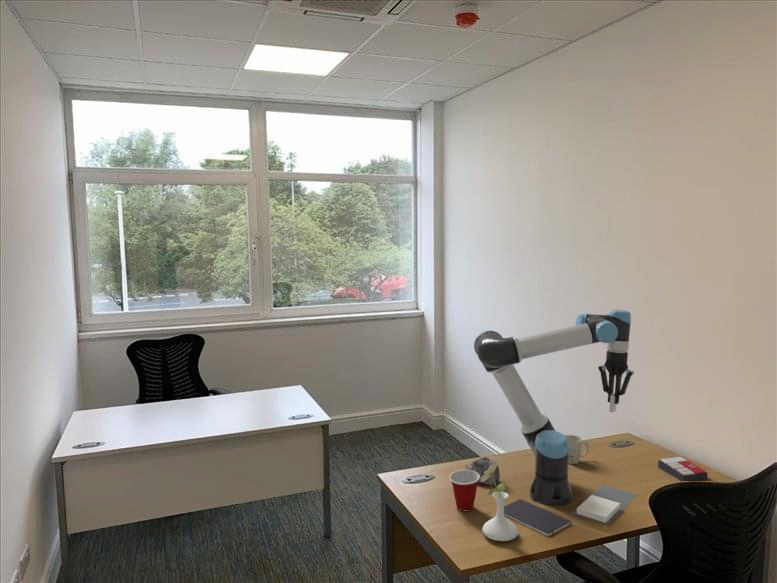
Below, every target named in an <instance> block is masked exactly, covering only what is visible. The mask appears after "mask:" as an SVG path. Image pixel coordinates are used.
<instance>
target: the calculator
mask: <svg viewBox="0 0 777 583" xmlns="http://www.w3.org/2000/svg"><path fill="white" fill-rule="evenodd" d="M657 460H658V462H657V463H658V465H657V468H658V469H660V470H661V471H663V472H665V473H668V474H669V475H671V476H672V477H674V478H675V479H677V480H679V481H680V482H682V481H692V482H699V481H705V480H708V472H706V470H705V469H702V468H701V467H700V466H697V464H694V463H693V462H691V461H690V460H687V459H685V458H684V457H682V456H676V457H675V456H674V457H668V458H667V457H666V458H660V459H657Z"/></svg>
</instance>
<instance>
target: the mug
mask: <svg viewBox="0 0 777 583" xmlns="http://www.w3.org/2000/svg"><path fill="white" fill-rule="evenodd" d="M564 435H565V436H566V437H567V439H568V442H569V458H568V465H569V464H570V465H577V464H579V463H580V458H583V457H585V456H586V455H587V454H588V453H589V451H590V444H589V442H588V441H586V440H583V438H581V437H580V436H578V435H574V434H567V435H566V434H564ZM583 445H585V446H586V450H585V451H584V453H583V454H581V451H582V446H583Z"/></svg>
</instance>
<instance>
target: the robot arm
mask: <svg viewBox="0 0 777 583" xmlns="http://www.w3.org/2000/svg"><path fill="white" fill-rule="evenodd" d="M631 316H632V314H631V312H630V311H628V310H625V309H610V311H609V314H592V313H583V314H582V313H580V314H578V315H577V316H576V320H575V325H572V326H568V327H563V328H559V329H554V330H550V331H545V332H541V333H537V334H532V335H528V336H523V337H519V338H516V337H515V336H511V337H503V335H502V334H500V333H499V332H497V331H495V330H491V329H490V330H485V331H482V332H480V333H479V334H478V335H477V336H476V338H475V339H474V342H473V350H474V353H475V354H476V355H477V359H479V362H481V364H482V366H483V368H484V369H485V371H486V372H487V373H489V374H492V375H493V376H494V378H495V381H497V382H496V383H497V384H498V386H499V388H500V389H501V391H502V393H503V394H504V397H505V398H506V399H507V401H508V403H509V405H510V406H511V408H512V410H513V411H514V414H515V415H516V417H517V419H518V420H519V422H520V424H521V427H520V432H521V433H522V435H523V438H524V439H525V441H526V443H527V445H528V446H529V448H530V449H531V452H532V453H533V455H534V459H535V461H534V462H535V463H534V464H535V465H534V466H535V467H534V468H535V469H534V470H535V473H534V478H533V480H532V482H531V486H530V489H529V497H530V499H531V500H532V501H534V502H535V503H538V504H542V505H546V506H554V507H555V506H557V507H560V506H566V505H568V504H570V503H572V501H573V494H574V493H573V491H572V488H571V483H570V481H569V463H568V458H569V442H568V439H567V437H566V436H565V435H566V434H564V433H562V432H559V431H557V430H556V429H555V428H554V426H553V424H552V422H551V421H550V419H549V417H548V416H547V415H545V414H542V412H541V411H540V409H539V407H538V406H537V404H536V402H535V401H534V399H533V396H532V395H531V393H530V391H529V389H528V387H527V386H526V385H525V383H524V381H523V379H522V377H521V375H520V374H519V372H518V370H517V369H516V367H515V365H516V364H520V363H521V362H522V360H526V359H531V358H534V357H537V356H543V355H546V354H553V353H556V352H561V351H565V350H569V349H575V348H577V347H582V346H587V345H592V344H598V343H602V344H606V345H607V346H606V349H607V350H606V354H605V355H606V356H605V362H604V364H602V365H600V366H598V370H599V373H600V378H601V384H602V390H603V392H604V393H607V403H609V413H615V412H616V411H617V405H618V404H620V396H623V395H625V394H626V392H627V389H628V386H629V383H630V380H631V377H632V376H633V375H634V374H635V372H634V370H631V369H629V365H628V360H629V359H628V357H629V352H628V351H629V344H630V332H631V323H632V322H631V321H632V319H631V318H632V317H631ZM606 370H607V371H606ZM607 372H608V376H607ZM624 373H625V377H624V380H623V383H622V377H623V374H624Z"/></svg>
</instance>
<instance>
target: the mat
mask: <svg viewBox="0 0 777 583" xmlns="http://www.w3.org/2000/svg"><path fill="white" fill-rule="evenodd" d="M591 495H594V496H598V497H601V498H604V499H608V500H611V501H614V502H618V503H620V509H619V510H618V511H617V512H616V513H615V514H614V515H613V516H612V517H611V518H610V519H609V520H608V521H607V522H606V523H603V522H600V521H597V520H594V519H591V518H588V517H585V516H582V515H579V514H577V508H578V507H579V506H580V505H581V504H582V503H580V504H579V505H578V506H577V507H576V508H575V509H573V510H572V511H571V512H570V514H571V515H574V516H577V517H580V518H583V519H587V520H589V521H592V522H595V523H598V524H602V525H604V526H607V527H609V525H610V524H612V522H613V521H614V520H615V519H616V518H617V517H618V516H619V515H620V514H621V513H622V512H623V511H624V510H625V508H627V507H628V506H629V504H631V502H632V501H633V500H635V498H636V497H637V496H638V494H637V493H633V492H629V491H625V490H622V489H618V488H616V487H612V486H608V485H605V484H601V485H600V486H599V487H598V488H596V490H595V491H594V492H593V493H592V494H591ZM591 495H589V496H588V497H587V498H586V499H584V501H586V500H587V499H588V498H589V497H590V496H591Z"/></svg>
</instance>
